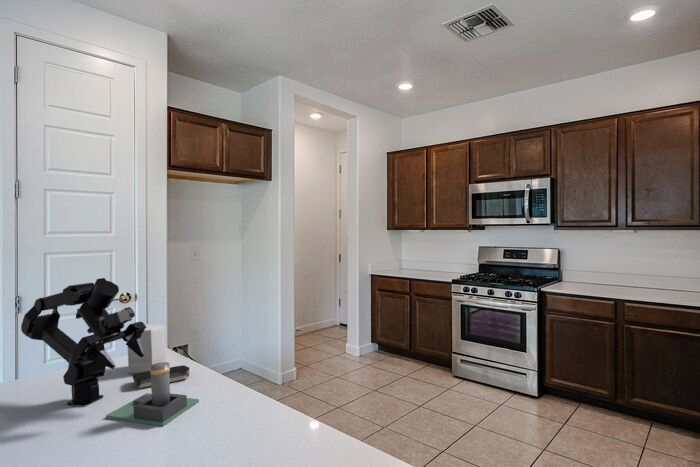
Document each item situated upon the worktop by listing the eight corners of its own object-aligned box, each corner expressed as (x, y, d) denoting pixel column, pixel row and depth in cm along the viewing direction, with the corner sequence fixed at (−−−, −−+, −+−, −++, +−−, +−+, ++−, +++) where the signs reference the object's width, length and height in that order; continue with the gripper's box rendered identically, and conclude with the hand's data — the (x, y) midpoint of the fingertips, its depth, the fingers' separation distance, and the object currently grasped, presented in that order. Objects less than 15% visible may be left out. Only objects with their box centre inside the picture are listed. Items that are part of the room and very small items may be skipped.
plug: (148, 415, 103) (147, 368, 103) (156, 407, 107) (155, 362, 107) (165, 415, 103) (164, 367, 103) (173, 407, 107) (172, 361, 107)
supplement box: (167, 364, 144) (165, 323, 144) (152, 373, 135) (151, 330, 135) (143, 364, 145) (142, 323, 145) (127, 373, 136) (126, 330, 136)
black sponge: (134, 392, 121) (133, 380, 121) (133, 382, 128) (132, 371, 128) (190, 381, 129) (190, 369, 129) (186, 372, 136) (186, 362, 136)
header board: (106, 418, 104) (105, 404, 104) (146, 395, 117) (146, 383, 117) (163, 426, 99) (163, 411, 99) (198, 402, 112) (198, 388, 112)
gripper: (79, 306, 100) (113, 353, 97) (140, 294, 118) (170, 333, 115) (59, 335, 103) (91, 381, 100) (121, 318, 121) (150, 358, 117)
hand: (129, 361), depth 108 cm, fingers open, 9 cm apart
